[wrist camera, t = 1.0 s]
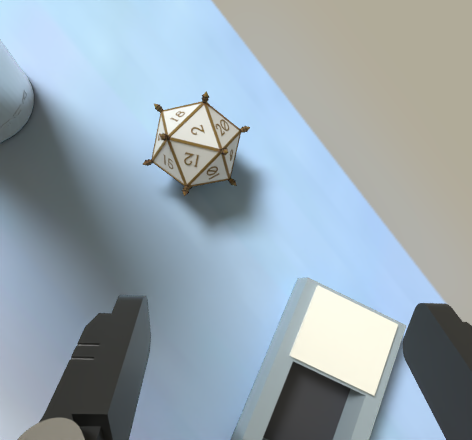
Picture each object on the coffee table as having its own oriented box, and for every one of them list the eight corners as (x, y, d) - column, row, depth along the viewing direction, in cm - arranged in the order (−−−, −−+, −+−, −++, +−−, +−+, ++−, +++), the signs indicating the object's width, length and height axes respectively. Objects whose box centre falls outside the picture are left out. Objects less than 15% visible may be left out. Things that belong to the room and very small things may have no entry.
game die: (189, 155, 39) (205, 63, 33) (249, 197, 36) (279, 104, 30) (121, 183, 33) (125, 76, 27) (186, 235, 30) (207, 129, 24)
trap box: (185, 548, 29) (186, 581, 26) (297, 278, 35) (309, 277, 32) (294, 595, 30) (308, 633, 27) (387, 322, 35) (409, 326, 32)
